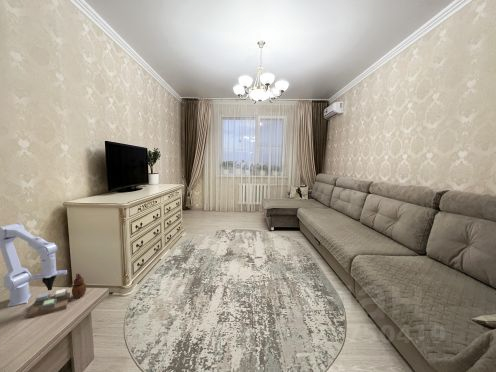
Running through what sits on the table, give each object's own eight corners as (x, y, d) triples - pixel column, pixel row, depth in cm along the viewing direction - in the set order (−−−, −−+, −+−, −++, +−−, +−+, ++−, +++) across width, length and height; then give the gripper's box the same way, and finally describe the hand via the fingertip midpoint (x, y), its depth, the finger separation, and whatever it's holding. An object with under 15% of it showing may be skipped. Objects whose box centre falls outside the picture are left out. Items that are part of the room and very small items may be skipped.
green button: (45, 304, 119) (44, 300, 119) (54, 302, 121) (54, 298, 121) (43, 308, 115) (43, 304, 115) (53, 306, 118) (53, 302, 117)
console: (36, 303, 123) (35, 296, 123) (70, 295, 131) (69, 289, 131) (28, 318, 111) (27, 310, 111) (66, 308, 119) (65, 301, 119)
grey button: (39, 298, 123) (38, 294, 122) (48, 296, 125) (48, 292, 124) (37, 301, 119) (36, 298, 119) (47, 299, 121) (46, 295, 121)
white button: (56, 294, 127) (56, 290, 126) (65, 292, 129) (65, 288, 128) (55, 297, 123) (55, 294, 123) (64, 295, 125) (64, 292, 125)
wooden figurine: (78, 300, 127) (77, 275, 125) (69, 298, 128) (68, 274, 127) (88, 293, 133) (87, 270, 132) (80, 292, 135) (79, 268, 133)
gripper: (28, 271, 113) (29, 297, 114) (64, 266, 120) (65, 289, 121) (32, 266, 118) (33, 290, 120) (67, 261, 126) (67, 283, 127)
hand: (50, 289), depth 121 cm, fingers closed
